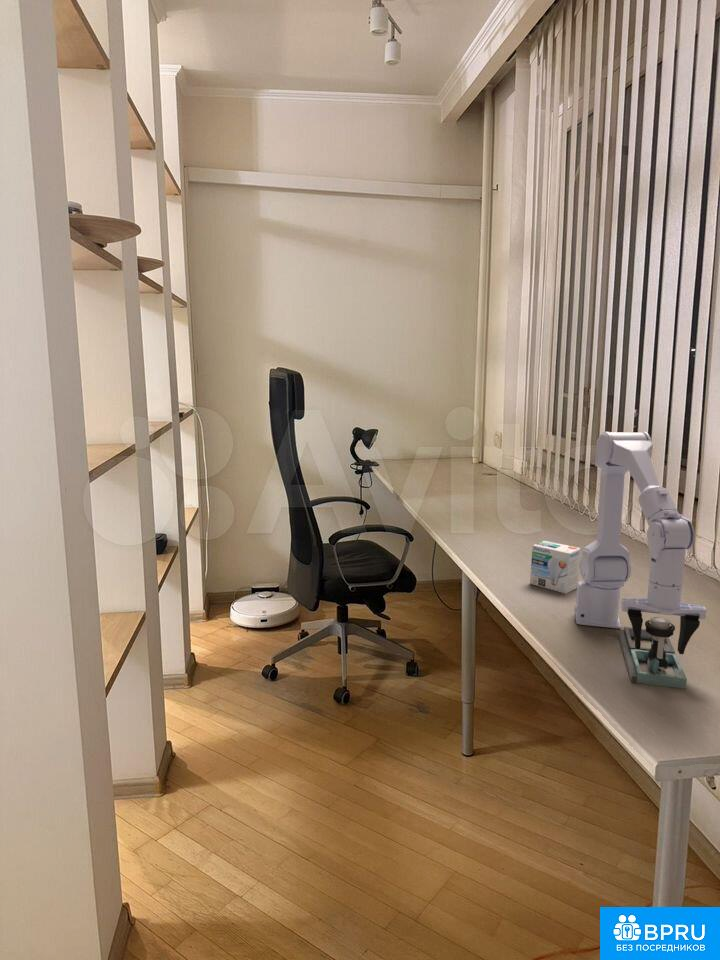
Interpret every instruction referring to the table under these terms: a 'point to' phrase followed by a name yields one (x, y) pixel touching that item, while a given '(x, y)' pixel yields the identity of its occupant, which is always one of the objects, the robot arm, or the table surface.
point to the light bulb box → (555, 566)
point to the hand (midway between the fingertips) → (658, 649)
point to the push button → (658, 642)
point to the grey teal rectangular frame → (637, 655)
